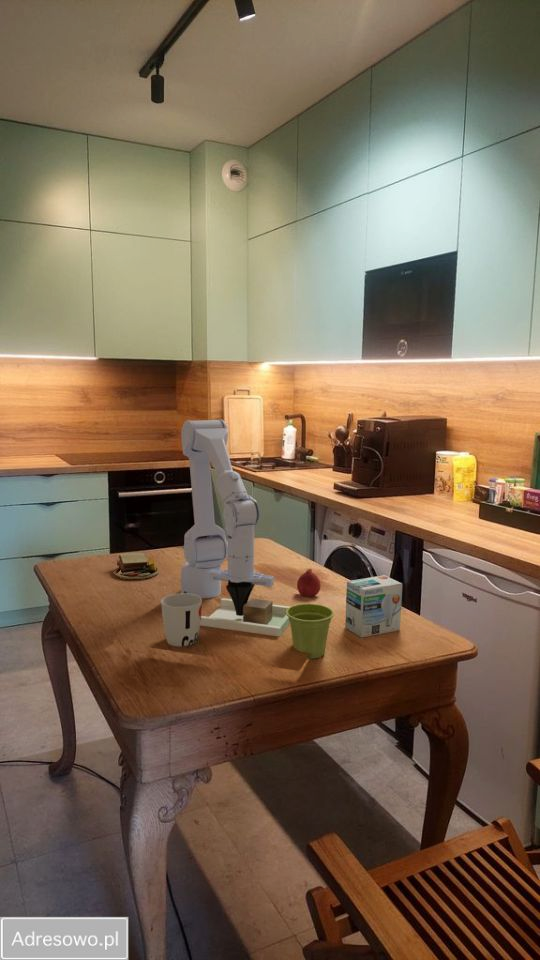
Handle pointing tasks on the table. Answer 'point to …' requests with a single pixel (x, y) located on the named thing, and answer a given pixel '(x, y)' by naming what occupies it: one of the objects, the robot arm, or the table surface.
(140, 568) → the toy sandwich meal
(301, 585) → the onion
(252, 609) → the block
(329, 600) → the table surface
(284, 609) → the tray
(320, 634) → the plant pot
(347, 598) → the light bulb box
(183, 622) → the cup
